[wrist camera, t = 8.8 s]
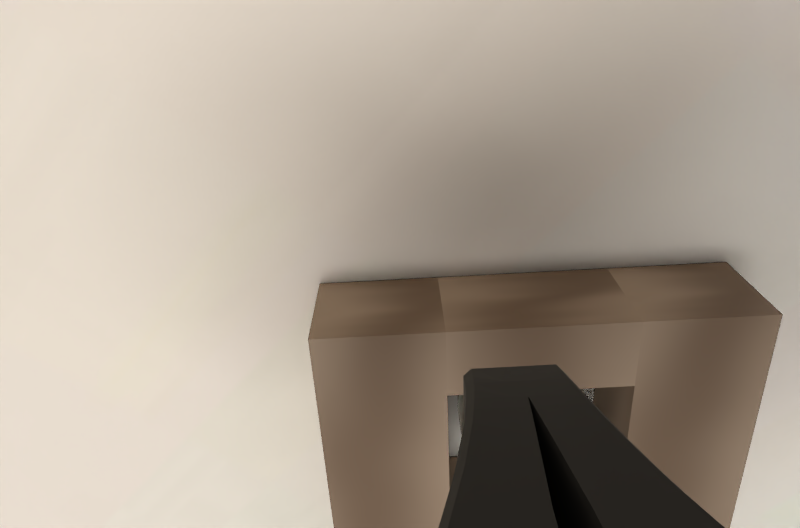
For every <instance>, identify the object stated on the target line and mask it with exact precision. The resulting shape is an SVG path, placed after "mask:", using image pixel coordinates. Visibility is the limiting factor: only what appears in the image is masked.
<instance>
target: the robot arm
mask: <svg viewBox="0 0 800 528" xmlns="http://www.w3.org/2000/svg"><path fill="white" fill-rule="evenodd" d="M463 397H464V425H463V433H462V438H461V443H460V448H459V452H458V457H457V462H456V467H455V472H454V476H453V480H452V483H451V487H450V490H449V494H448V497H447V500H446V504H445V507H444V511H443V514H442V517H441V521H440V524H439V527H438V528H725V527H724V526H722V525H721V524H720V523H719V522H718V521H716V520H715V519H714V518H713V517H712V516H711V515H710V514H708V513H707V512H706V511H705V510H704V509H703V508H702V507H700V506H699V505H698V504H697V503H696V502H695V501H694V500H692V499H691V498H690V497H689V496H688V495H687V494H685V493H684V492H683V491H682V490H681V489H680V488H679V487H678V486H677V485H676V484H675V483H673V482H672V481H671V480H670V479H669V478H668V477H667V476H666V475H665V474H664V473H663V472H662V471H660V470H659V469H658V468H657V467H656V466H655V465H654V464H653V463H652V462H651V461H650V460H649V459H648V458H647V457H646V456H645V455H644V454H643V453H642V452H641V451H640V450H639V449H638V448H637V447H636V446H635V445H634V444H633V443H631V442H630V441H629V440H628V439H627V438H626V437H625V436H624V435H623V434H622V433H621V432H620V431H619V430H618V429H617V428H616V427H615V425H614V424H613V423H612V422H611V421H610V420H609V419H608V418H607V417H606V416H605V415H604V414H603V413H602V412H601V411H600V410H599V409H598V408H597V407H596V406H595V405H594V404H593V402H592V401H591V400H590V399H589V398H588V397H587V396H586V395H585V394H584V393H583V392H582V391H581V390H580V389H579V387H578V386H577V385H576V384H575V383H574V382H573V381H572V380H571V379H570V378H569V377H568V376H567V374H566V373H565V372H564V371H563V370H562V369H561V368H560V367H558V366H557V365H556V364H553V365H534V366H515V367H495V368H476V369H470V370H469V371H468V372H467V373H466V374H465V375H464V376H463Z"/></svg>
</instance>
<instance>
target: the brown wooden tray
mask: <svg viewBox="0 0 800 528" xmlns="http://www.w3.org/2000/svg"><path fill="white" fill-rule="evenodd" d="M781 319H782V314H781V313H780V312H779V311H778V310H777V309H776V308H775V307H774V306H773V305H772V304H771V303H770V302H768V301H767V300H766V299H765V298H764V297H763V296H762V295H761V294H760V293H759V292H758V291H757V290H756V289H755V288H754V287H752V286H751V285H750V284H749V283H748V282H747V281H746V280H745V279H744V278H743V277H742V276H741V275H740V274H739V273H737V272H736V271H735V270H734V269H733V268H732V267H731V266H730V265H729V264H728V263H727V262H719V263H701V264H682V265H663V266H644V267H626V268H607V269H588V270H570V271H551V272H532V273H513V274H495V275H476V276H457V277H438V278H420V279H401V280H382V281H364V282H345V283H326V284H319V289H318V294H317V299H316V304H315V309H314V313H313V318H312V323H311V328H310V333H309V338H308V342H309V349H310V357H311V364H312V371H313V379H314V386H315V393H316V400H317V408H318V415H319V422H320V429H321V437H322V444H323V451H324V459H325V466H326V473H327V480H328V488H329V495H330V502H331V509H332V517H333V524H334V528H438V527H439V524H440V521H441V517H442V514H443V511H444V507H445V504H446V500H447V497H448V494H449V490H450V487H451V483H452V480H453V476H454V472H455V467H456V462H457V457H449V444H448V402H447V396H451V395H463V376H464V375H465V374H466V373H467V372H468V371H469V370H470V369H476V368H495V367H515V366H534V365H553V364H556V365H557V366H558V367H560V368H561V369H562V370H563V371H564V372H565V373H566V374H567V376H568V377H569V378H570V379H571V380H572V381H573V382H574V383H575V384H576V385H577V386H578V387H579V389H586V388H595V392H594V402H593V404H594V405H595V406H596V407H597V408H598V409H599V410H600V411H601V412H602V413H603V414H604V415H605V416H606V417H607V418H608V419H609V420H610V421H611V422H612V423H613V424H614V425H615V427H616V428H617V429H618V430H619V431H620V432H621V433H622V434H623V435H624V436H625V437H626V438H627V439H628V440H629V441H630V442H631V443H633V444H634V445H635V446H636V447H637V448H638V449H639V450H640V451H641V452H642V453H643V454H644V455H645V456H646V457H647V458H648V459H649V460H650V461H651V462H652V463H653V464H654V465H655V466H656V467H657V468H658V469H659V470H660V471H662V472H663V473H664V474H665V475H666V476H667V477H668V478H669V479H670V480H671V481H672V482H673V483H675V484H676V485H677V486H678V487H679V488H680V489H681V490H682V491H683V492H684V493H685V494H687V495H688V496H689V497H690V498H691V499H692V500H694V501H695V502H696V503H697V504H698V505H699V506H700V507H702V508H703V509H704V510H705V511H706V512H707V513H708V514H710V515H711V516H712V517H713V518H714V519H715V520H716V521H718V522H719V523H720V524H721V525H722V526H724V527H725V528H730V524H731V520H732V516H733V512H734V508H735V504H736V500H737V496H738V492H739V488H740V484H741V480H742V476H743V472H744V468H745V464H746V460H747V456H748V452H749V448H750V444H751V440H752V436H753V432H754V427H755V423H756V419H757V415H758V411H759V407H760V403H761V399H762V395H763V391H764V387H765V383H766V379H767V375H768V371H769V367H770V363H771V359H772V355H773V351H774V347H775V343H776V339H777V335H778V331H779V327H780V323H781Z"/></svg>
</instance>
